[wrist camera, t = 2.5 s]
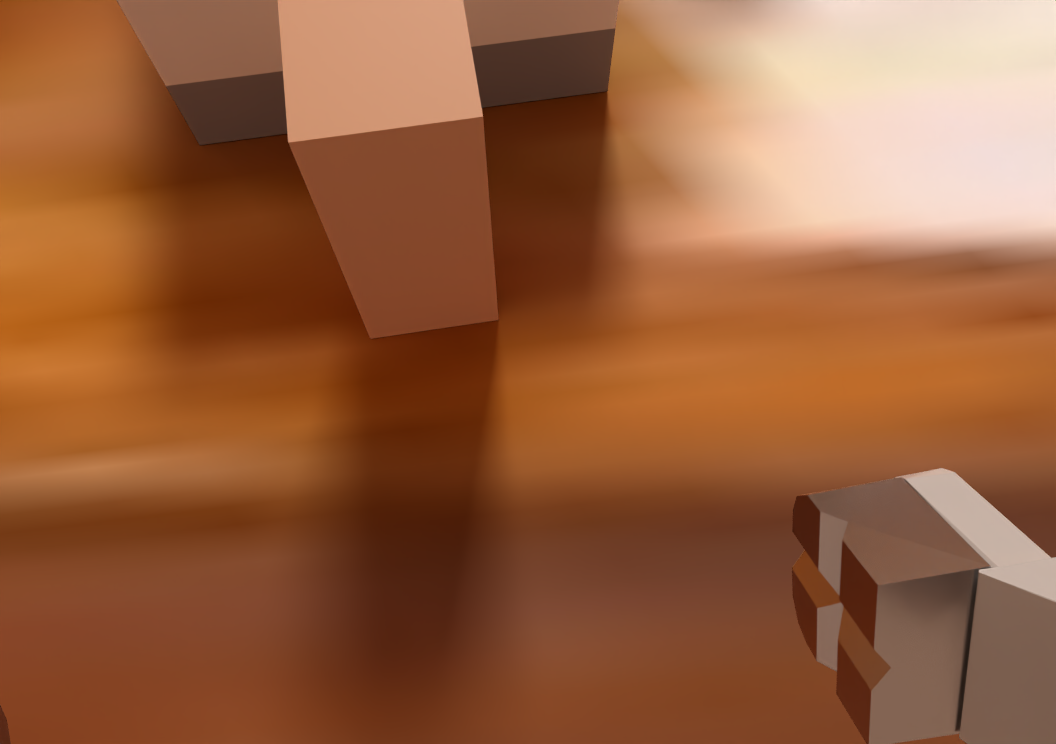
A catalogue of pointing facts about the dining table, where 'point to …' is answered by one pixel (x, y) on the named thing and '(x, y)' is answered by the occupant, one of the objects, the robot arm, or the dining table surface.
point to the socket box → (257, 73)
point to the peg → (394, 155)
